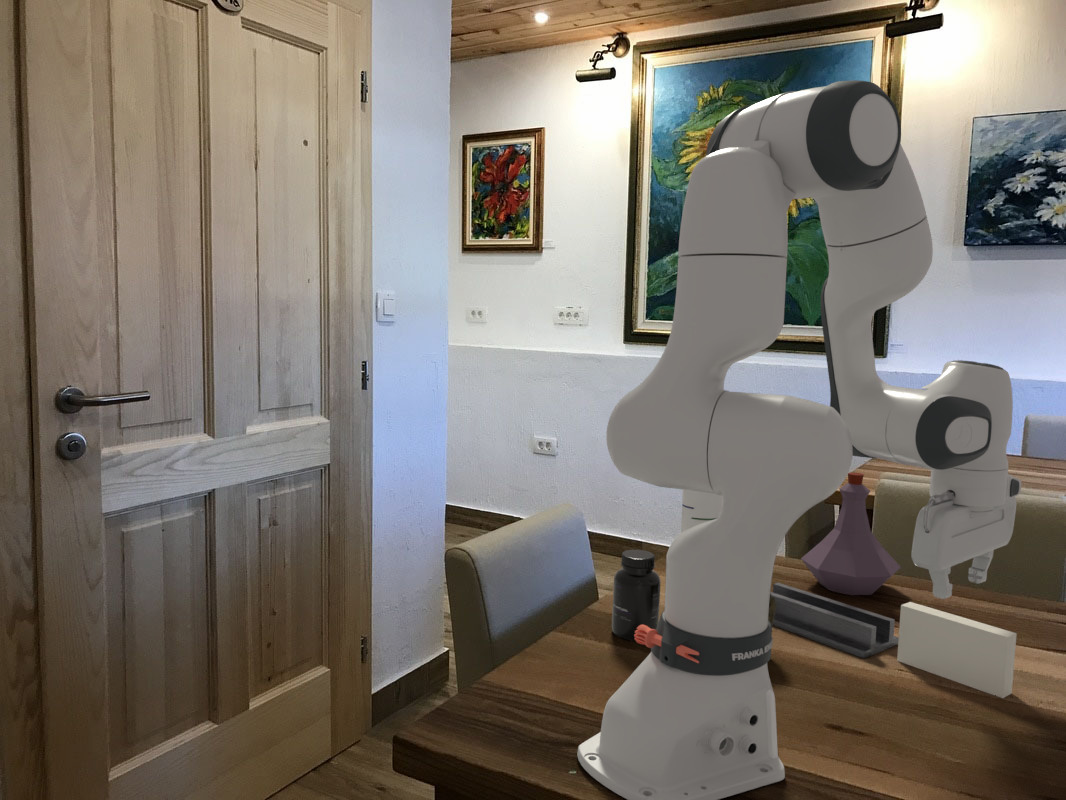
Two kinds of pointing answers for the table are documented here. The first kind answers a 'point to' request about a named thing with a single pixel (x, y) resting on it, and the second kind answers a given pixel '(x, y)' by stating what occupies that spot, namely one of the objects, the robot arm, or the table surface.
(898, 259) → the robot arm
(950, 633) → the door panel
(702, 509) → the cylindrical container
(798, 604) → the floor track
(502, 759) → the table surface
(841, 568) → the flask
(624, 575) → the supplement bottle
